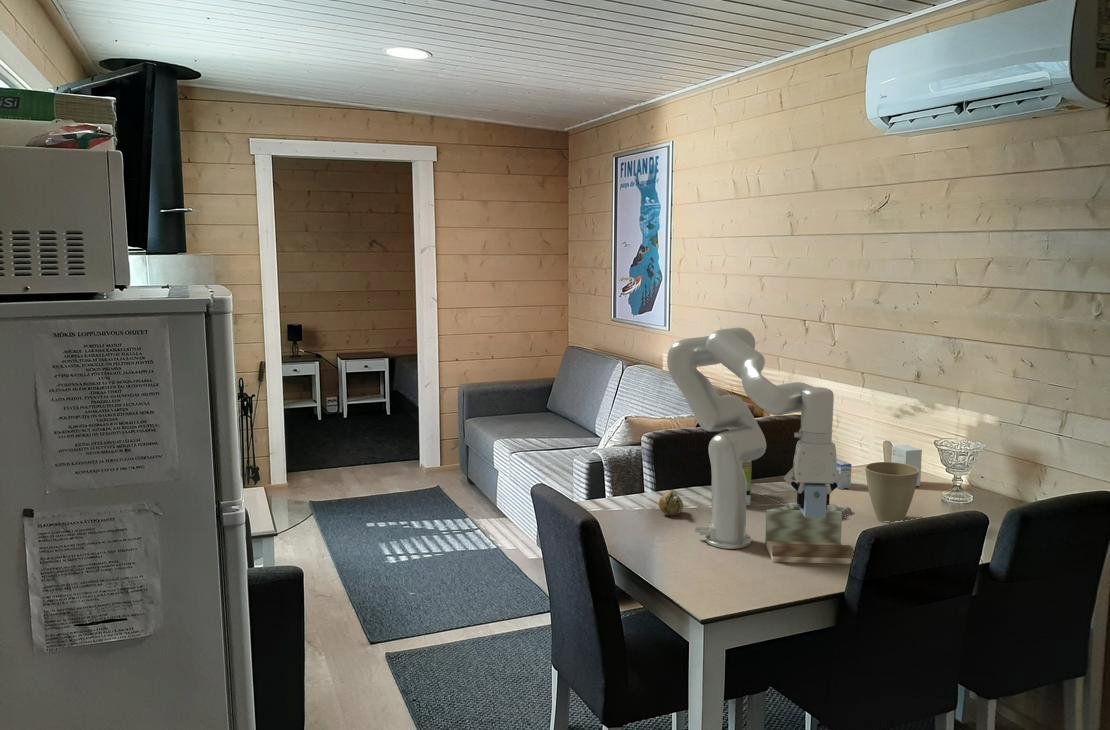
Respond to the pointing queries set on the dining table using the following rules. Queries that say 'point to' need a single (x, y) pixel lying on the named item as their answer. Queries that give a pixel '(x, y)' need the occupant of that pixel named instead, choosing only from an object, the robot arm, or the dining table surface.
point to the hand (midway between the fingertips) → (812, 506)
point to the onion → (671, 504)
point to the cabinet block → (814, 500)
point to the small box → (907, 457)
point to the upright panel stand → (805, 538)
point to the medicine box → (844, 473)
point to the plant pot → (891, 489)
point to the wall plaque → (829, 508)
